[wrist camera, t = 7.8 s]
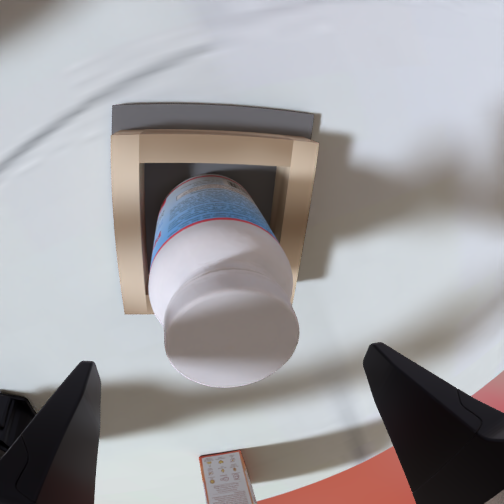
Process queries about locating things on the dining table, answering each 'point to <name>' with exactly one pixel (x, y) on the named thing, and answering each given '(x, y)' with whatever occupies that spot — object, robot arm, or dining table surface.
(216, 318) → the pill bottle
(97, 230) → the dining table surface
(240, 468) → the cracker box
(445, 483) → the robot arm
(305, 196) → the collar
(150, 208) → the mat
